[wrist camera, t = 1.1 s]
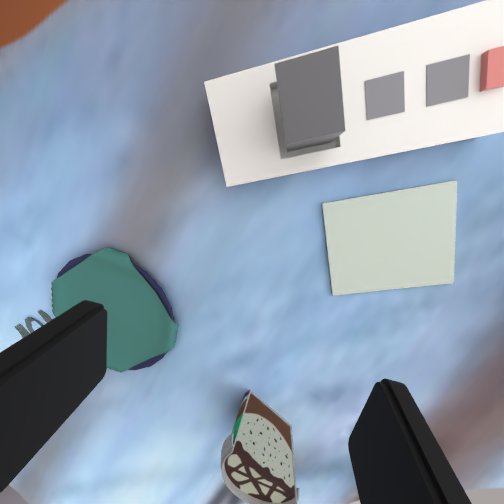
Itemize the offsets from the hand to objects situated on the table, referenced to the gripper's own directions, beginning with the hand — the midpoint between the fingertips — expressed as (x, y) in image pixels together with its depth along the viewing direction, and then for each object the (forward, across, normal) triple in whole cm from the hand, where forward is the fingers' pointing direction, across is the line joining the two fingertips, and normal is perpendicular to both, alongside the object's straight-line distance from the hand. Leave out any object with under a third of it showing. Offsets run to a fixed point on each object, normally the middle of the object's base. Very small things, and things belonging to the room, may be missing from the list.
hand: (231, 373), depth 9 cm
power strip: (+24, -4, -14) cm, 28 cm away
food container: (+24, -5, +32) cm, 40 cm away
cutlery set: (+25, +24, +22) cm, 41 cm away
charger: (+22, -1, -12) cm, 25 cm away
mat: (+24, -14, -1) cm, 28 cm away
